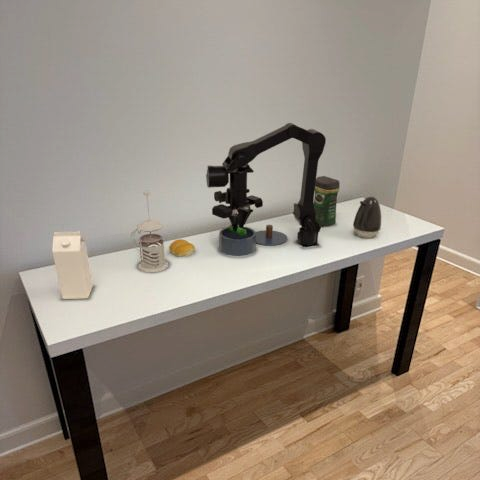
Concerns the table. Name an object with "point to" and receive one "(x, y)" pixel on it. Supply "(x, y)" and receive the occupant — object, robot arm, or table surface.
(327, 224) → the coffee jar
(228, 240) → the pot
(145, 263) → the french press
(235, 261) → the table surface
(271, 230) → the pot lid
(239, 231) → the zucchini
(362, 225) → the dark grey rounded figure
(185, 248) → the bread roll
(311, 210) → the robot arm
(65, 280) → the milk carton
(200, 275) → the table surface
